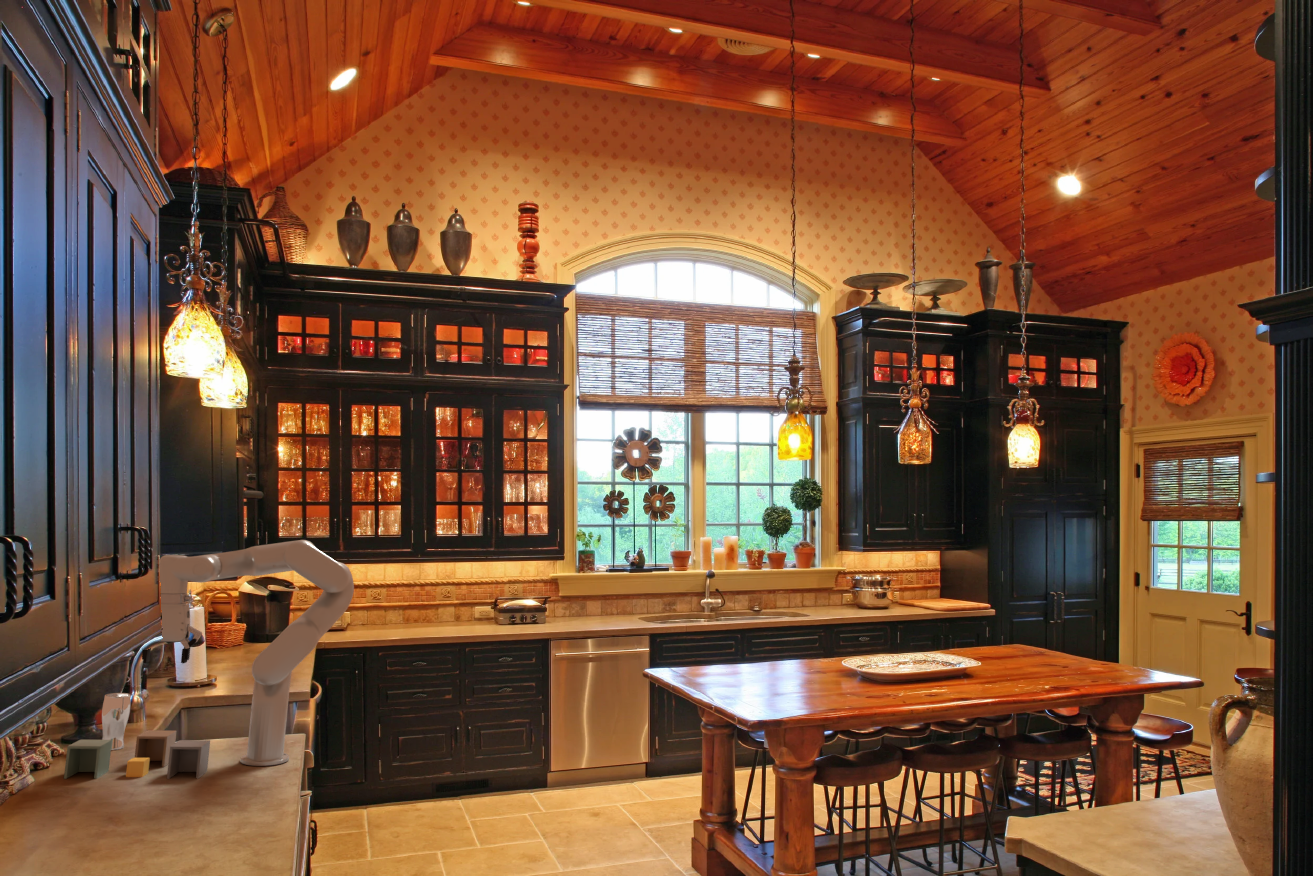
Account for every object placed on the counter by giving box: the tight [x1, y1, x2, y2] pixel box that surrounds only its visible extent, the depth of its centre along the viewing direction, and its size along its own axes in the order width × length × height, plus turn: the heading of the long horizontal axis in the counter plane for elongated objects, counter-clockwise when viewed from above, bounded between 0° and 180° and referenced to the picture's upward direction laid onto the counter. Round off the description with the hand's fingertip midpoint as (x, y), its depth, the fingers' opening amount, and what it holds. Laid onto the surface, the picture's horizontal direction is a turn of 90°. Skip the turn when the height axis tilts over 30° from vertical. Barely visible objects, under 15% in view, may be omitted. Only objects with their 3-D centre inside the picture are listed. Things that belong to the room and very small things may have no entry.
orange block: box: [125, 757, 151, 778], centre depth 237 cm, size 4×4×4 cm
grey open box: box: [166, 739, 211, 780], centre depth 239 cm, size 8×8×8 cm
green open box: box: [63, 739, 112, 780], centre depth 235 cm, size 8×8×8 cm
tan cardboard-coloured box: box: [134, 729, 177, 768], centre depth 249 cm, size 8×8×8 cm
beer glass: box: [101, 692, 131, 751], centre depth 264 cm, size 7×7×15 cm
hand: (165, 662), depth 252 cm, fingers open, 9 cm apart
